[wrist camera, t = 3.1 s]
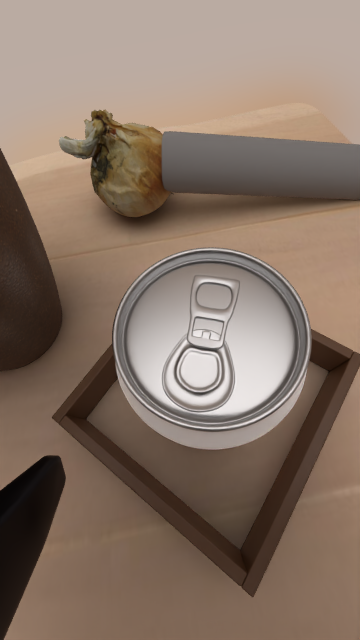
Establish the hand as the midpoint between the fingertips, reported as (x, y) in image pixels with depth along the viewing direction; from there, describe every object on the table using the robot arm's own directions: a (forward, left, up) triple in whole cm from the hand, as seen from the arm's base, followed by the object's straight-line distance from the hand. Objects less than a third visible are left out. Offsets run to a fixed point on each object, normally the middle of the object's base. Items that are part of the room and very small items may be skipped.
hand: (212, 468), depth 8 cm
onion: (+15, +17, -10) cm, 25 cm away
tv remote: (+22, +7, -7) cm, 24 cm away
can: (+3, +2, -10) cm, 11 cm away
